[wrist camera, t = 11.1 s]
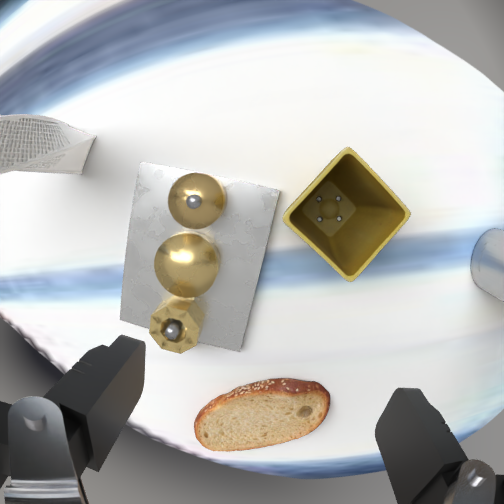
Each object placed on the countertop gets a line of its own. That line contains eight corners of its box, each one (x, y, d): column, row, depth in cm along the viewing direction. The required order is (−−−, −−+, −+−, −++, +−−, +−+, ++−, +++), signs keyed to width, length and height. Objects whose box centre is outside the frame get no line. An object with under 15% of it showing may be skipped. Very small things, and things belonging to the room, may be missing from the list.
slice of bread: (189, 436, 43) (185, 452, 39) (216, 354, 39) (212, 369, 35) (292, 459, 44) (293, 474, 40) (339, 384, 40) (344, 400, 36)
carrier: (279, 190, 34) (282, 191, 28) (240, 346, 38) (237, 371, 33) (144, 162, 34) (124, 159, 28) (123, 316, 38) (105, 334, 32)
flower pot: (326, 153, 33) (348, 143, 24) (379, 206, 34) (413, 214, 25) (274, 209, 34) (279, 219, 26) (329, 260, 36) (350, 285, 27)
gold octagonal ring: (207, 302, 36) (201, 314, 32) (199, 342, 37) (194, 357, 34) (161, 291, 36) (152, 302, 32) (157, 331, 37) (148, 344, 33)
